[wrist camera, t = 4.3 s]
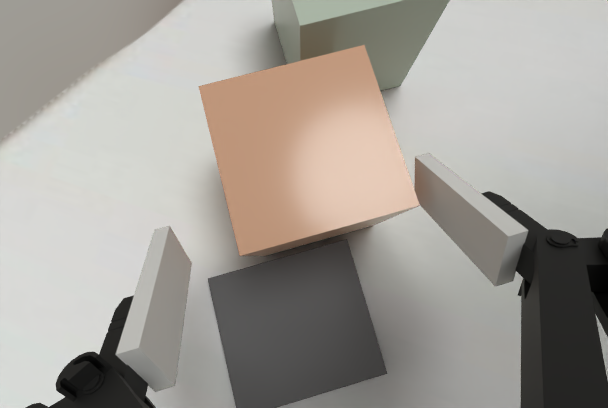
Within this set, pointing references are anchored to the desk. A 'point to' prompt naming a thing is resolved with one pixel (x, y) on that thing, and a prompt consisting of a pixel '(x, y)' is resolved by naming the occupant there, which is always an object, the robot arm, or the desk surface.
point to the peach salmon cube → (306, 152)
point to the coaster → (295, 327)
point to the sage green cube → (358, 31)
